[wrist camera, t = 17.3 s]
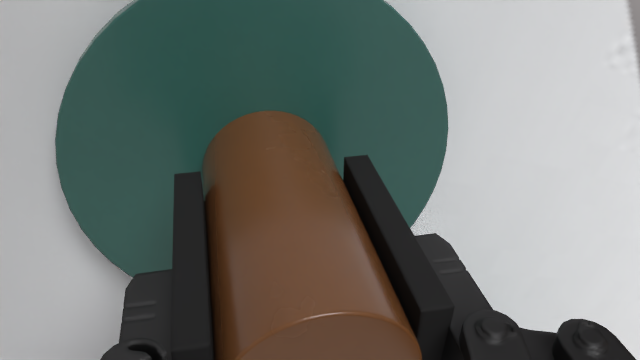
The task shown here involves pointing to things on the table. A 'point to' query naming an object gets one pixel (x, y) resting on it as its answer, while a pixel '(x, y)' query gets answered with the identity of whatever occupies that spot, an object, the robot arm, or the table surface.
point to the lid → (258, 160)
